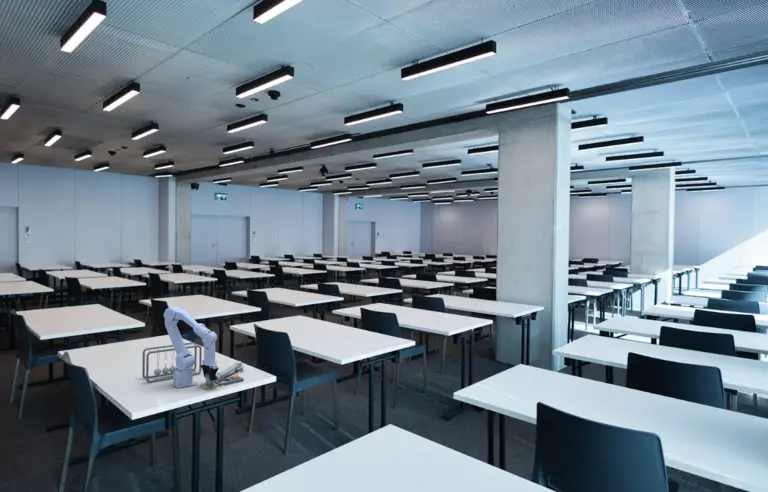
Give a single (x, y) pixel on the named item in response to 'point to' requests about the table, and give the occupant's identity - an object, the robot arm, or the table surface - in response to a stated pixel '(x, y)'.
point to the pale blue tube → (230, 370)
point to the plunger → (235, 376)
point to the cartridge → (208, 380)
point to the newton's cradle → (165, 370)
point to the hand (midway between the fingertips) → (209, 378)
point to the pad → (208, 386)
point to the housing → (230, 381)
